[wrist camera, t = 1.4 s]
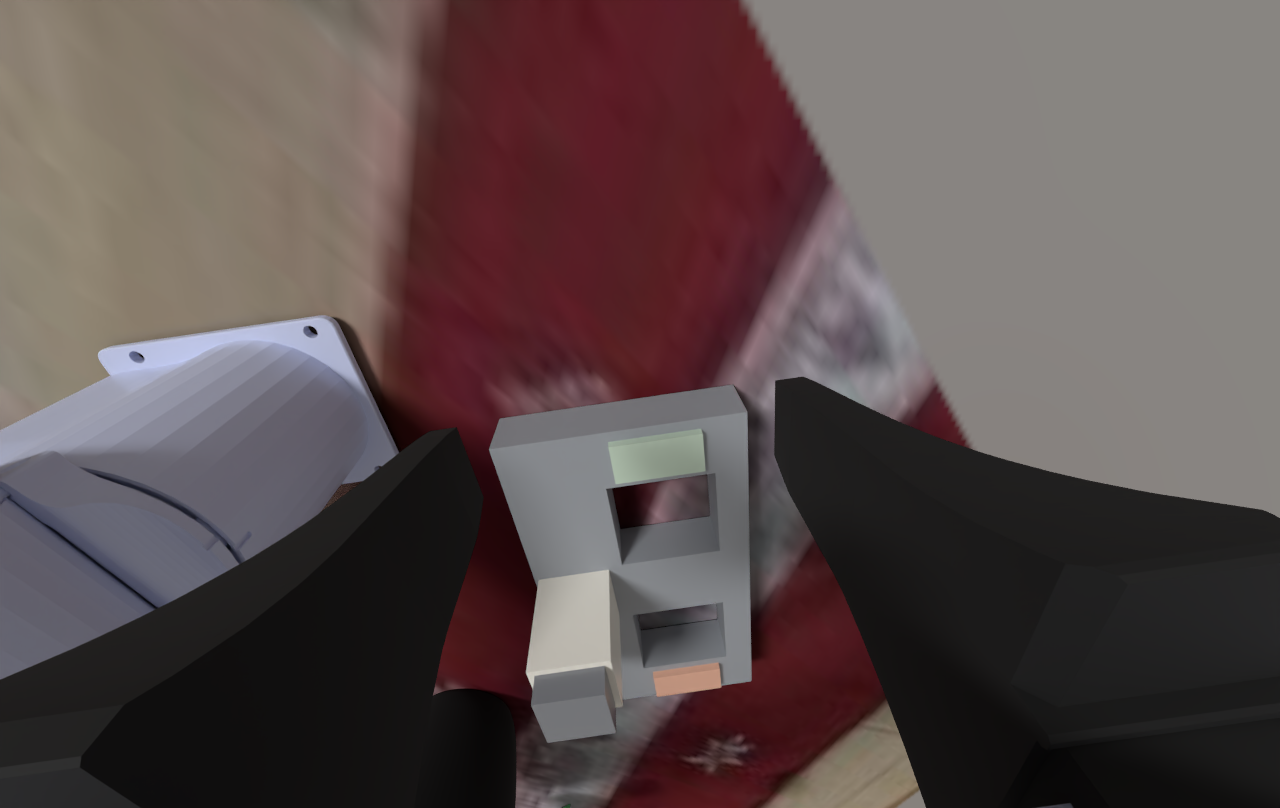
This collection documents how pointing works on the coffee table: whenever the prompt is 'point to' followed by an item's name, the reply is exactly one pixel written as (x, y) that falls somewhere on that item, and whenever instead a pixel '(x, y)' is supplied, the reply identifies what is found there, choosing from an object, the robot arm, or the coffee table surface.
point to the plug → (575, 656)
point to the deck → (646, 555)
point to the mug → (468, 753)
